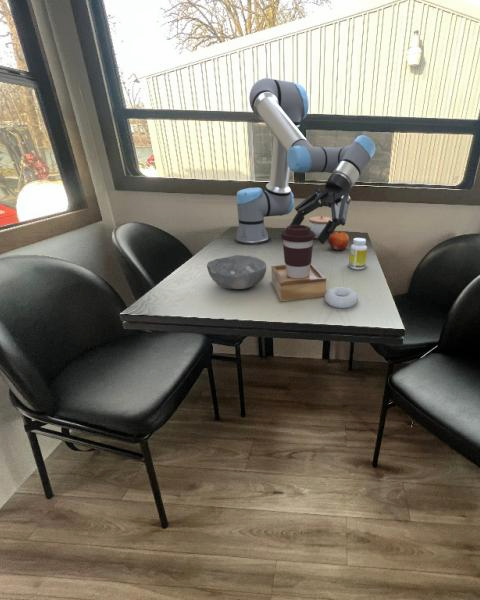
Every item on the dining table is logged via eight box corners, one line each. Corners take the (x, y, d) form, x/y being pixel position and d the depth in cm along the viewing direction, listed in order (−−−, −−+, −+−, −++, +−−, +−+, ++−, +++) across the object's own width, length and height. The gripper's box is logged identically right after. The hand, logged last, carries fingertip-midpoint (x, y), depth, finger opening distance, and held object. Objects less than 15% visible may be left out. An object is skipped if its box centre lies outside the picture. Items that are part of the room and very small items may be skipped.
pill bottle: (366, 266, 117) (370, 238, 112) (362, 271, 112) (365, 242, 107) (352, 263, 119) (354, 236, 114) (346, 268, 114) (349, 240, 109)
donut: (353, 295, 93) (322, 294, 92) (355, 285, 92) (323, 284, 91) (360, 310, 84) (325, 310, 83) (361, 300, 83) (326, 299, 82)
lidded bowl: (307, 233, 158) (308, 212, 153) (331, 233, 160) (332, 212, 155) (309, 240, 147) (310, 217, 142) (334, 240, 149) (336, 218, 144)
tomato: (347, 252, 132) (348, 234, 128) (326, 250, 133) (327, 233, 129) (349, 246, 140) (350, 229, 136) (329, 244, 141) (330, 228, 137)
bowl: (276, 291, 93) (275, 267, 90) (219, 303, 85) (216, 277, 81) (255, 272, 107) (253, 250, 103) (204, 281, 98) (201, 258, 94)
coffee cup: (309, 282, 88) (310, 232, 81) (277, 279, 89) (276, 229, 83) (316, 271, 96) (318, 225, 90) (287, 267, 98) (286, 222, 91)
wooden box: (271, 283, 99) (271, 266, 96) (311, 279, 103) (312, 262, 100) (281, 301, 87) (280, 283, 84) (325, 296, 92) (326, 278, 89)
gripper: (378, 194, 87) (340, 253, 84) (319, 185, 103) (286, 234, 100) (369, 175, 81) (328, 238, 79) (308, 168, 97) (272, 220, 94)
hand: (304, 236), depth 89 cm, fingers open, 13 cm apart
